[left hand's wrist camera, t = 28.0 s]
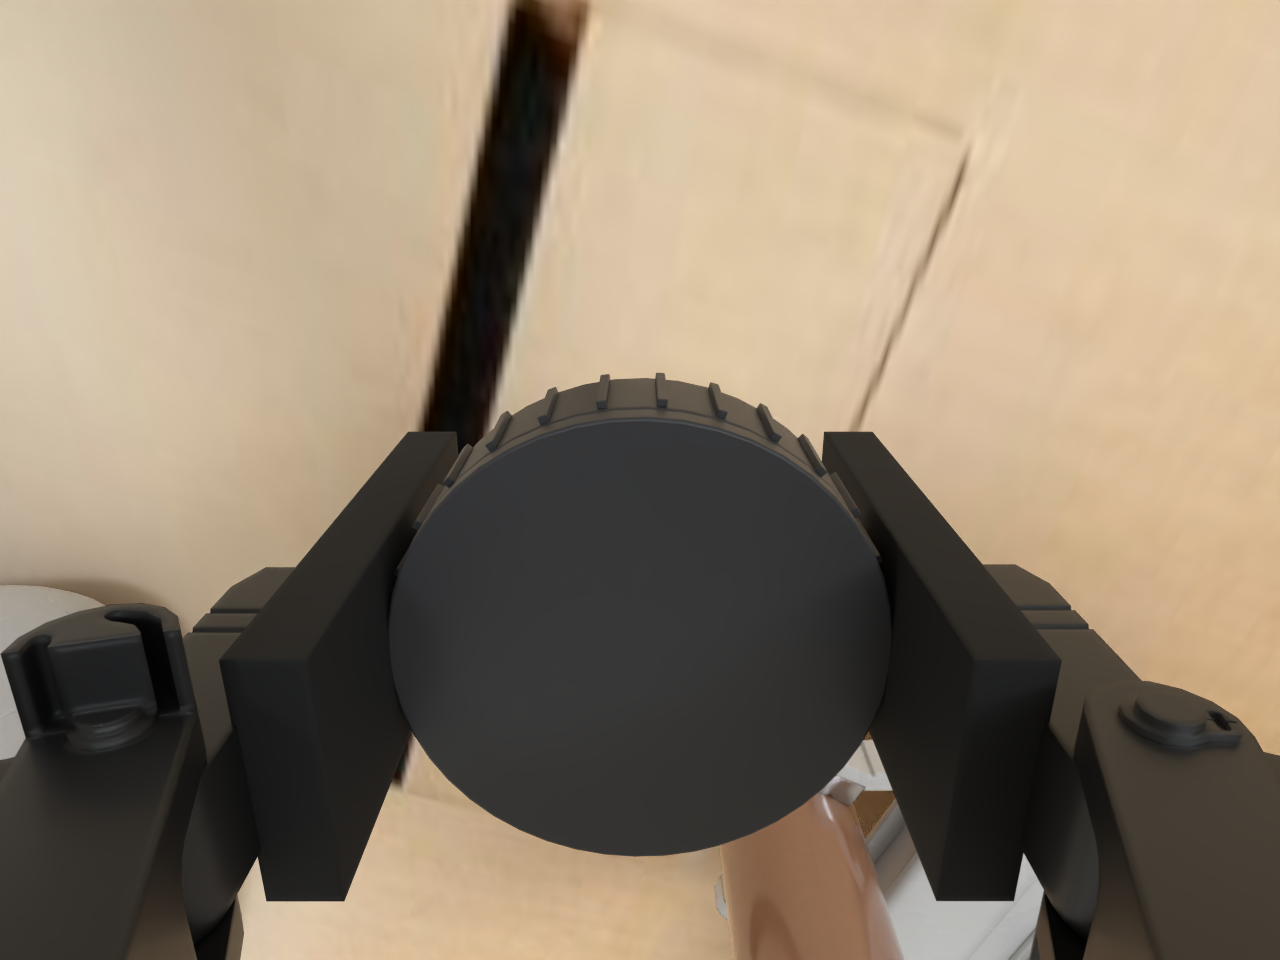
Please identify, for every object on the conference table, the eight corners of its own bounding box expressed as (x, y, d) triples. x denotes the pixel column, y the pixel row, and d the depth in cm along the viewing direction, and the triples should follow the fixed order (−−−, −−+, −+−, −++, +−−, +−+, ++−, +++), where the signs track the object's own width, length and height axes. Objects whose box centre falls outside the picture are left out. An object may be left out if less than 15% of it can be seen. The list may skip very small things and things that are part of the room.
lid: (359, 685, 12) (317, 767, 10) (511, 291, 10) (487, 319, 9) (741, 822, 13) (754, 918, 11) (947, 483, 11) (1000, 540, 9)
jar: (782, 647, 36) (884, 998, 21) (844, 730, 38) (978, 1111, 23) (682, 706, 37) (711, 1080, 22) (745, 784, 39) (813, 1182, 24)
